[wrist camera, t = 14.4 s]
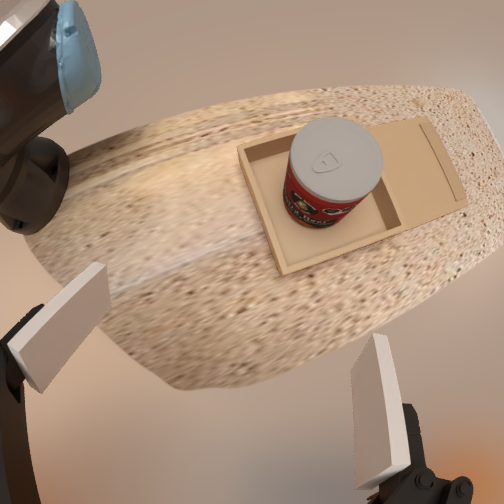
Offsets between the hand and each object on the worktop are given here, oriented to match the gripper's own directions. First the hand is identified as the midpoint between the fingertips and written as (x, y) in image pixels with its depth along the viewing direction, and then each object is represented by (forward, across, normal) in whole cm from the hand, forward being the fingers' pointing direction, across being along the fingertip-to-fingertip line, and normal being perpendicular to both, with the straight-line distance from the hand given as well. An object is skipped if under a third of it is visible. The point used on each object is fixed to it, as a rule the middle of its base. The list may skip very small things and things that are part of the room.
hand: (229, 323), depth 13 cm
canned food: (+23, +4, 0) cm, 23 cm away
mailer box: (+25, +11, +3) cm, 28 cm away
